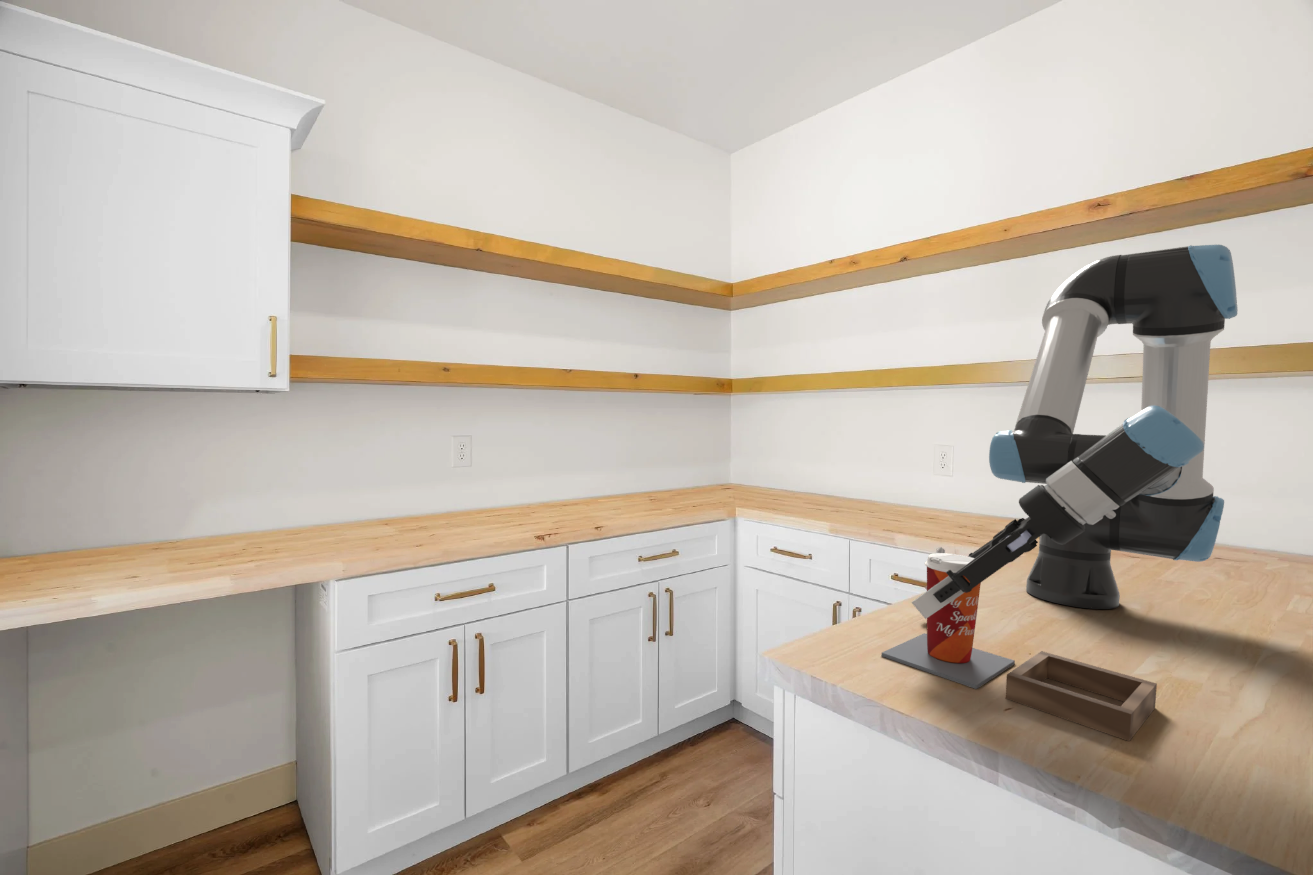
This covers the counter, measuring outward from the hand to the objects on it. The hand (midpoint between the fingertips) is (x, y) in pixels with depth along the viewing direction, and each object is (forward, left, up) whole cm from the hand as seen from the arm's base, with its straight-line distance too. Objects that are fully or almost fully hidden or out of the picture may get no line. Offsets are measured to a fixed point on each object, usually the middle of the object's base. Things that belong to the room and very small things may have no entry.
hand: (925, 601), depth 89 cm
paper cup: (-1, +3, -7) cm, 8 cm away
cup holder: (-1, +19, -8) cm, 21 cm away
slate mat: (-1, +3, -8) cm, 8 cm away
